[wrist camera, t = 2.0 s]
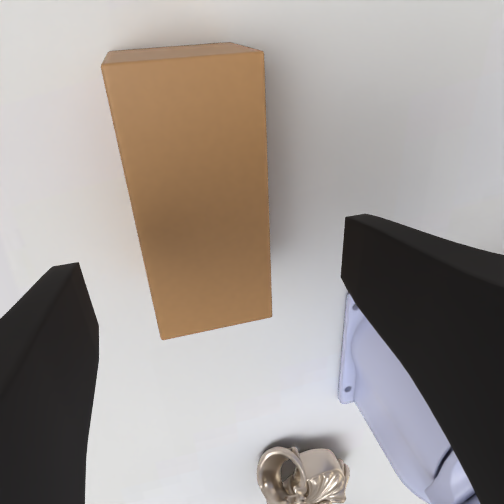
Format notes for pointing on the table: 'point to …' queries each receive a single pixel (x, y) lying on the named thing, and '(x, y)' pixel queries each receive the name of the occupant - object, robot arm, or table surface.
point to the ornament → (303, 477)
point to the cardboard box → (196, 179)
